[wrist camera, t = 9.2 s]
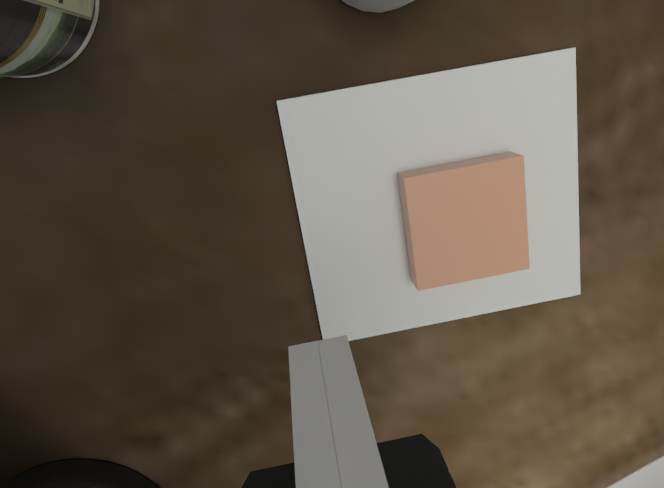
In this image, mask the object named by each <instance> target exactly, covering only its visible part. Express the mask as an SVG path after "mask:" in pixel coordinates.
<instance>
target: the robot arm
mask: <svg viewBox="0 0 664 488" xmlns="http://www.w3.org/2000/svg"><path fill="white" fill-rule="evenodd" d="M288 351H289V370H290V389H291V407H292V426H293V445H294V463H290V464H285V465H280V466H276V467H271V468H266V469H261V470H257V471H252V472H250V474H249V475H248V477H247V479H246V481H245V483H244V484H243V486H242V488H456V487H455V484H454V481H453V479H452V477H451V475H450V473H449V471H448V468H447V465H446V463H445V461H444V459H443V456H442V454H441V452H440V449H439V448H438V447H436V446H435V445H434V444H433V443H432V442H431V441H429V440H428V439H427V438H426V437H425V436H424V435H422V434H419V435H414V436H410V437H405V438H400V439H395V440H391V441H386V442H381V443H376V440H375V436H374V432H373V429H372V425H371V421H370V418H369V414H368V411H367V407H366V403H365V400H364V396H363V392H362V389H361V385H360V382H359V378H358V374H357V371H356V367H355V364H354V360H353V356H352V353H351V349H350V345H349V342H348V338H347V335H344V336H339V337H334V338H329V339H324V340H319V341H314V342H309V343H304V344H299V345H294V346H289V347H288ZM5 488H158V487H157V486H156V485H154V484H153V483H152V482H151V481H149V480H148V479H146V478H145V477H143V476H142V475H140V474H138V473H136V472H134V471H132V470H130V469H127V468H125V467H122V466H119V465H116V464H112V463H108V462H103V461H97V460H85V459H76V460H64V461H57V462H53V463H48V464H45V465H42V466H39V467H36V468H34V469H31V470H29V471H27V472H25V473H23V474H22V475H20V476H18V477H17V478H15V479H14V480H13V481H11V482H10V483H9V484H8V485H7V486H6V487H5Z"/></svg>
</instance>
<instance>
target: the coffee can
mask: <svg viewBox="0 0 664 488" xmlns="http://www.w3.org/2000/svg"><path fill="white" fill-rule="evenodd" d="M98 15H99V0H0V77H16V78H30V77H38V76H43V75H47V74H50V73H52V72H55V71H58V70H60V69H62V68H63V67H65V66H66V65H68V64H69V63H71V62H72V61H73V60H74V59H75V58H77V57H78V55H79V54H80V53H81V52H82V51H83V50H84V48H85V47H86V46H87V44H88V42H89V40H90V38H91V36H92V34H93V32H94V29H95V27H96V23H97V20H98Z"/></svg>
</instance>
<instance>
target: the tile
mask: <svg viewBox="0 0 664 488" xmlns="http://www.w3.org/2000/svg"><path fill="white" fill-rule="evenodd" d="M397 176H398V183H399V191H400V199H401V206H402V214H403V222H404V230H405V237H406V245H407V253H408V260H409V268H410V276H411V281H412V282H413V284H414V285H415V287H416V289H417V290H418V291H420V290H425V289H430V288H435V287H440V286H445V285H451V284H456V283H461V282H466V281H471V280H476V279H481V278H486V277H491V276H496V275H501V274H506V273H511V272H516V271H521V270H526V269H530V265H529V246H528V227H527V207H526V188H525V169H524V156H523V155H520V154H517V153H514V152H505V153H500V154H495V155H489V156H484V157H479V158H473V159H468V160H463V161H457V162H452V163H447V164H441V165H436V166H431V167H425V168H420V169H415V170H409V171H404V172H399V173H397Z"/></svg>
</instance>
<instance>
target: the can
mask: <svg viewBox="0 0 664 488" xmlns="http://www.w3.org/2000/svg"><path fill="white" fill-rule="evenodd" d="M342 1H343V2H344V3H345V4H347V5H350V6H352V7H354V8H356V9H359V10H361V11H365V12H377V13H382V12H386V11H390V10H394V9H397V8H400V7H402V6H404V5H406V4H408V3H410V2H412V1H414V0H342Z"/></svg>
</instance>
